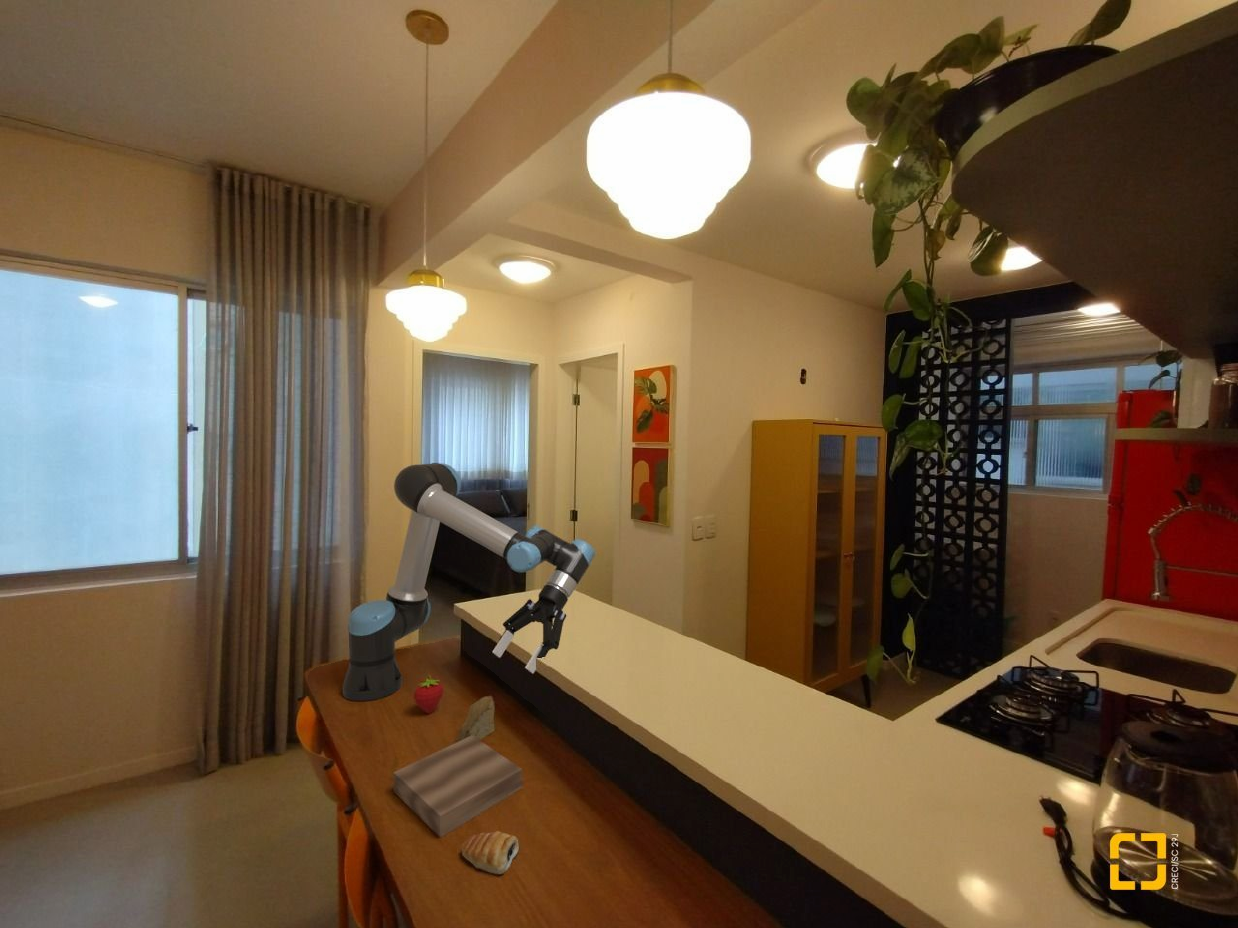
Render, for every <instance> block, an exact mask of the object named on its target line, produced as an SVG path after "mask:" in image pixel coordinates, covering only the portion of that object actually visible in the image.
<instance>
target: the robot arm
mask: <svg viewBox="0 0 1238 928" xmlns="http://www.w3.org/2000/svg"><path fill="white" fill-rule="evenodd" d="M461 484H462V483H461V479H460V475H459V474H458V472H457V470H456V469H455V468H454V467H452V466H451V465H449V464H446V463H439V462H432V463H423V464H411V465H408V466H405V467H404V468H403V469H401V470H400V471H399V473H397V476H396V477H395V480H394V484H393V491H394V493H395V496H396V498H397V499H398V501H400V503H401V504H402V505H404V506H405V507H406V508H407V509H410V511H411V514H410V516H409V517H410V518H409V521H408V526H407V531H406V534H405V539H404V543H403V548H402V552H401V555H400V560H399V564H398V569H397V573H396V577H395V581H394V582H395V583H394V584H393V585H391V586H389V587H388V589H387V592H386V596H385V599H384V600H383V599H381V600H373V601H371V602H365V603H363V604H361V605H357V607H355V608H354V609H353V610H352V611H351V612H350V613H349V617H348V626H347V627H348V644H349V645H348V654H349V657H348V658H349V660H348V661H349V664H348V665H349V666H348V669H347V671H346V674H345V678H344V679H343V684H342V695H343V697H344V698H345V699H347V700H350V701H354V702H367V701H368V702H369V701H374V700H378V699H382V698H385V697H387V696H390V695H392V694H394V693H395V692H397V691H398V690H400V688H401V687H402V684H403V680H402V679H403V677H402V672H401V670H400V668H399V665H398V662H397V660H396V642H397V641H399V640H400V639H402V638H405V637H407V636H409V634H412V633H413V632H415V631H417V630H419V629H420V628H421V627H423V625H424V624H425V623H427V621H428V619H429V617H430V616H431V615H430V614H431V611H432V610H431V607H432V606H431V602H430V601H429V597H428V591H427V590H426V589H425V586H426V583H427V577H428V575H429V569H430V565H431V562H432V558H433V553H434V549H435V546H436V545H435V544H436V540H437V536H438V532H439V528H440V523H441V524H443V525H445V526H447V527H449V528H450V529H453V530H454V531H456V532H458V533H460V534H462V535H463V536H465V537H467V538H468V539H470V540H472V541H473V542H475V543H477V544H479V545H481V546H483V547H484V548H486V549H488V550H489V551H491V552H493V553H495V554H496V555H499V556H500V557H502V558H504V559H506V562H507V565H508V566H509V567H510V569H511V570H513V571H514V572H517V573H526V572H529V571H533V570H534V569H535V568H537V567H538V566H539V565H540V564H542V563H544V562H547V563H548V564H551V565H552V566H555V568H554V570H553V572H552V573H551V574H550V576H549V578H548V579H547V581H546V584H545V585H543V587H542V588H541V590H540V592H539V593H538V594H537V595H538V599H537V601H536V602H535V601H533V600H532V599H530V598H529V599H527V601H526V602H525V603H524V604H523V606H522V607H520V608H519V609H518V610H517V611H515V612H514V613H513V614H512V615H510V617H508V619H506V620H505V621H504V622H503V623H502V626H503V627H504V628H505V630H504V632H503V633H502V635H501V636H500V637H499V641H498V642H497V644H496V645H495V647H494V649H493V650H492V654H494V656H496V657H498V658H501V657H502V656H503V654H504V652H505V650H506V649H507V648H508V646H509V645H510V643H511V641H512V640H513V639H514V637H515V633H516V632H518V631H520V630H521V629H522V628H524V627H526V626H527V625H530V624H532V623H535V622H536V623H541V624H542V642H541V643H539V644H538V646H537V648H536V649H535V651H534V652H533V654H532V655H531V658H530V659H529V661H528V662H527V664H526V666H524V668H525V669H526V670H528V672H529V673H531V674H534V673H535V672H536V670H537V668H536V658H542V657H545V658H546V657H547V654H548V653H549V651H551V650H552V649H554V650H558V648H559V646H560V641H561V636H562V632H563V626H564V621H565V620H566V618H567V614H566V613H565V612H564V611H563V609H564V607H565V606H566V604H567V602H568V600H569V598H571V596H572V594H573V593H574V591H575V589H576V588H577V586H578V584H579V583H580V581H581V579H582V578H583V576H584V575H585V574H586V572H587V570H588V568H590V564H591V563H592V561H593V559H594V558H595V556H596V554H595V553H596V552H595V549H594V548H593V547H592V545H591V544H589V542H587V541H584V540H582V539H578V538H576V539H574V540H573V541H571V543H570V542H568V541H566V540H564V539H563V538H560V537H558V536H557V535H555V534H553V533H552V532H550V531H549V530H548V529H545V528H543V527H541V526H539V525H534V526H532V527H531V528H530V529H529V530H528V531H527V533H526V534H525V535H524V534H522V533H520V532H518V531H517V530H515V529H513V528H512V527H510V526H508V525H506V524H504V523H503V522H501V521H498V520H497V519H495V518H493V517H491V516H490V515H488V514H486V513H484V512H482V511H481V510H479V509H477V508H476V507H474V506H472V505H470V504H468V503H466V502H465V501H463V500H461V499H459V498H458V497H457V496H458V495H459V493H460V490H461V486H462V485H461Z"/></svg>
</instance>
